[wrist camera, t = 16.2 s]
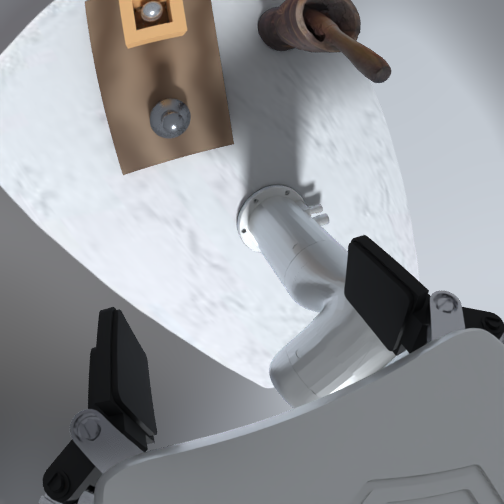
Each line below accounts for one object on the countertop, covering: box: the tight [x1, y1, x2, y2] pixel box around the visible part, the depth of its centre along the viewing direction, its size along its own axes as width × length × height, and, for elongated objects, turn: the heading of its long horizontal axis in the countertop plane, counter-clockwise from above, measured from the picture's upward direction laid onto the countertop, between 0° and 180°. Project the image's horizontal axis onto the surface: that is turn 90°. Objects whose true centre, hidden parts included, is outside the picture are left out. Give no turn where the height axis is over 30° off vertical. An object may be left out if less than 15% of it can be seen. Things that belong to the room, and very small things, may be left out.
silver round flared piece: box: [133, 1, 169, 30], centre depth 24 cm, size 5×5×7 cm
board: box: [85, 0, 234, 175], centre depth 32 cm, size 16×26×2 cm, turn 8°
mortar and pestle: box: [258, 0, 391, 83], centre depth 27 cm, size 12×9×20 cm
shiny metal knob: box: [150, 98, 191, 138], centre depth 32 cm, size 5×5×7 cm
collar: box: [119, 0, 187, 49], centre depth 24 cm, size 7×7×4 cm
